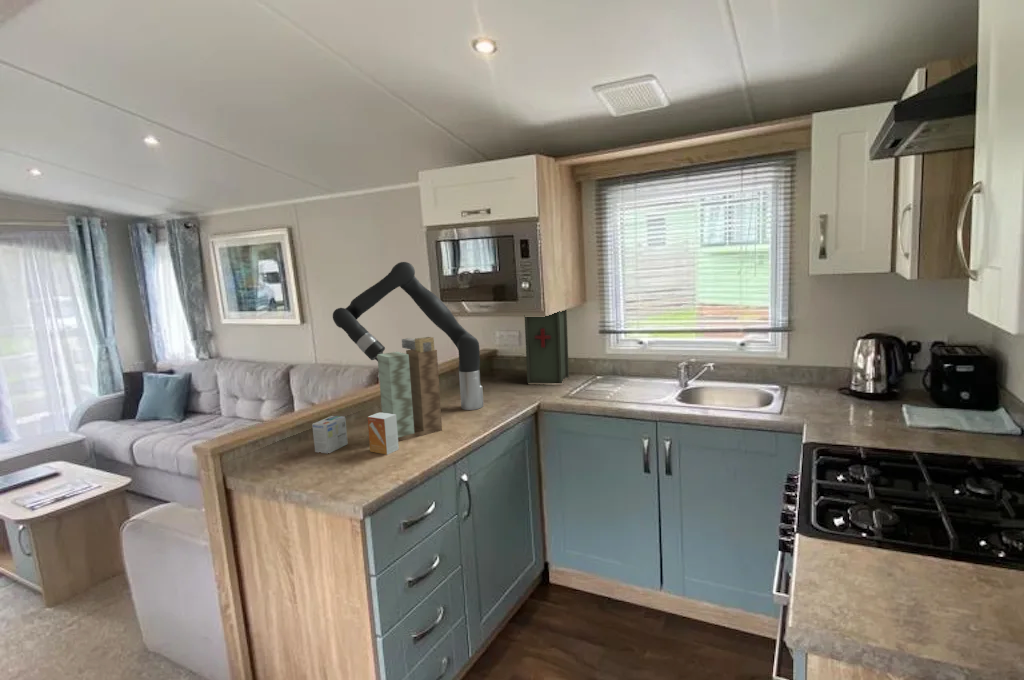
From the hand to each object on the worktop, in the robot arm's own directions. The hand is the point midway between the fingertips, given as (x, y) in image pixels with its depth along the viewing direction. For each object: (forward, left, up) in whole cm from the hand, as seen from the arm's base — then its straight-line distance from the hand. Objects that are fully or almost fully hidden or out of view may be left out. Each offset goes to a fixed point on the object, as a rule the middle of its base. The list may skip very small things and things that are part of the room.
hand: (398, 374), depth 219 cm
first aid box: (-94, -15, -21) cm, 97 cm away
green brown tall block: (+2, +14, -21) cm, 26 cm away
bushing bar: (-4, +10, +11) cm, 15 cm away
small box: (+19, +25, -21) cm, 38 cm away
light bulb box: (+32, +8, -22) cm, 40 cm away
